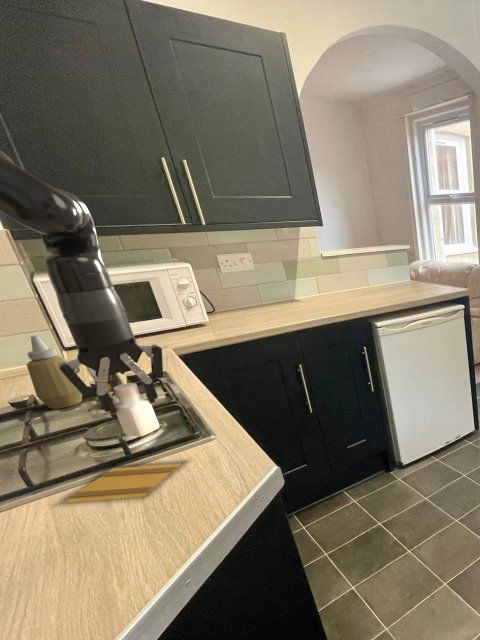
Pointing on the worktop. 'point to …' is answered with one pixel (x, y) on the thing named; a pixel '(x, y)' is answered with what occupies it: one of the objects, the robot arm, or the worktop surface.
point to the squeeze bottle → (50, 377)
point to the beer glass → (112, 383)
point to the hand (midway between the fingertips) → (132, 406)
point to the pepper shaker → (134, 411)
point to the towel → (124, 483)
